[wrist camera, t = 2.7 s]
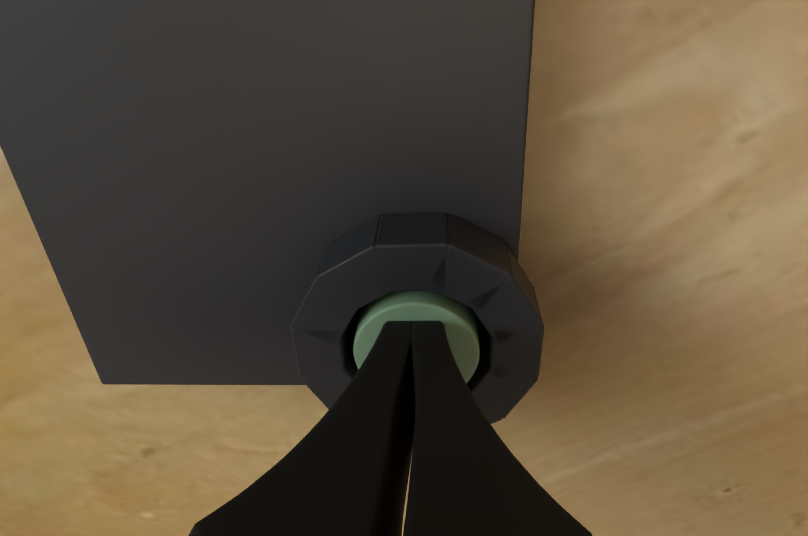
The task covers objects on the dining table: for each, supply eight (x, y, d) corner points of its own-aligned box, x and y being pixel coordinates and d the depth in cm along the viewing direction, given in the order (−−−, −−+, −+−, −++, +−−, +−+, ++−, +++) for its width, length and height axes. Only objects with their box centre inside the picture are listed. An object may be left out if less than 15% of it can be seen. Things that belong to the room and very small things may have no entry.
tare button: (475, 362, 15) (478, 403, 14) (365, 362, 15) (358, 402, 14) (477, 267, 14) (481, 302, 12) (355, 268, 14) (346, 304, 13)
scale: (519, 365, 17) (533, 442, 15) (128, 365, 18) (76, 437, 15) (567, -271, 10) (612, -343, 7) (-98, -218, 11) (-268, -266, 8)
